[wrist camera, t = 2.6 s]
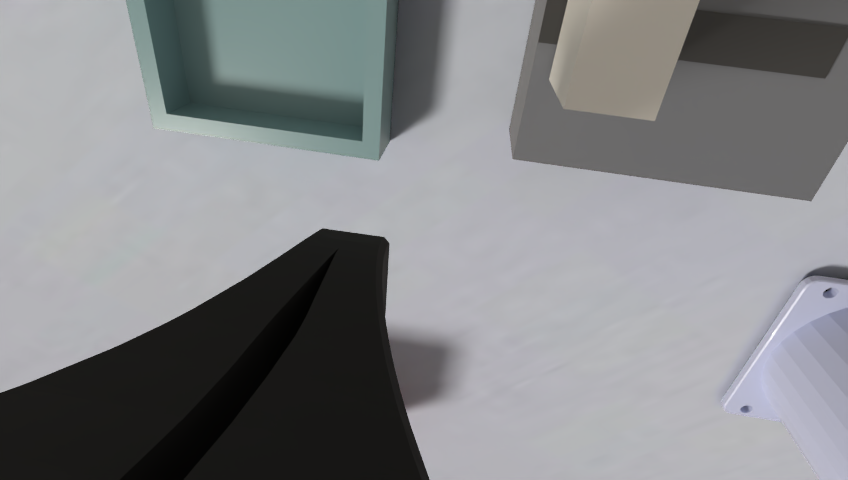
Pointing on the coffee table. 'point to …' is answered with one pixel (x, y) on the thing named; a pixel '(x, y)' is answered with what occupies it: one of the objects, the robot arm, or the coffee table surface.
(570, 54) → the switch
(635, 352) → the coffee table surface
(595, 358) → the coffee table surface
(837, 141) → the grey flat block
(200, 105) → the tray
